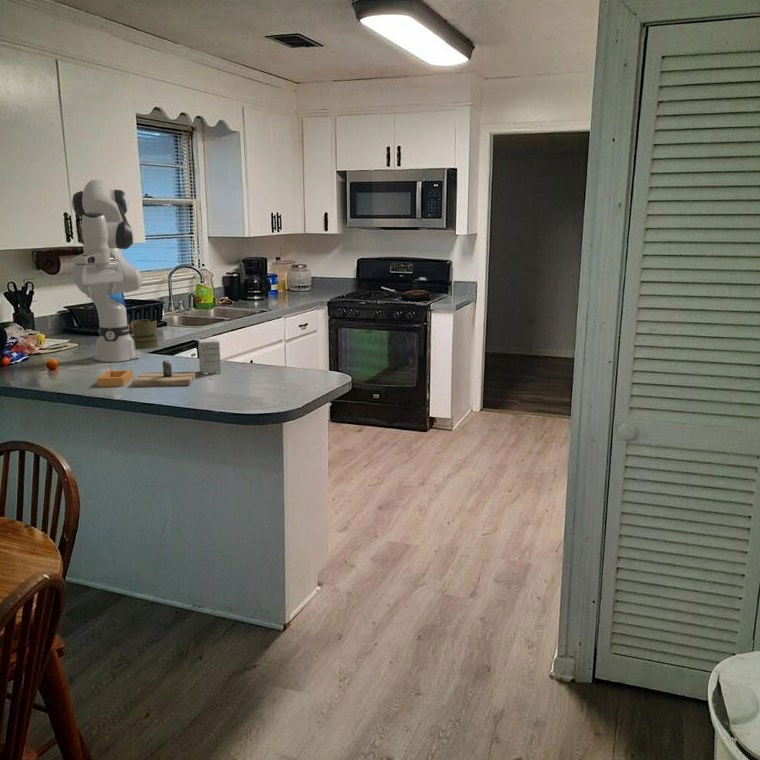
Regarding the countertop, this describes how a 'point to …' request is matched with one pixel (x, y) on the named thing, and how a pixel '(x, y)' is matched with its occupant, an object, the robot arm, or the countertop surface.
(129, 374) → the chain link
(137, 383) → the wooden board
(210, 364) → the supplement box
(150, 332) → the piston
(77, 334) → the countertop surface
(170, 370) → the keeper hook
